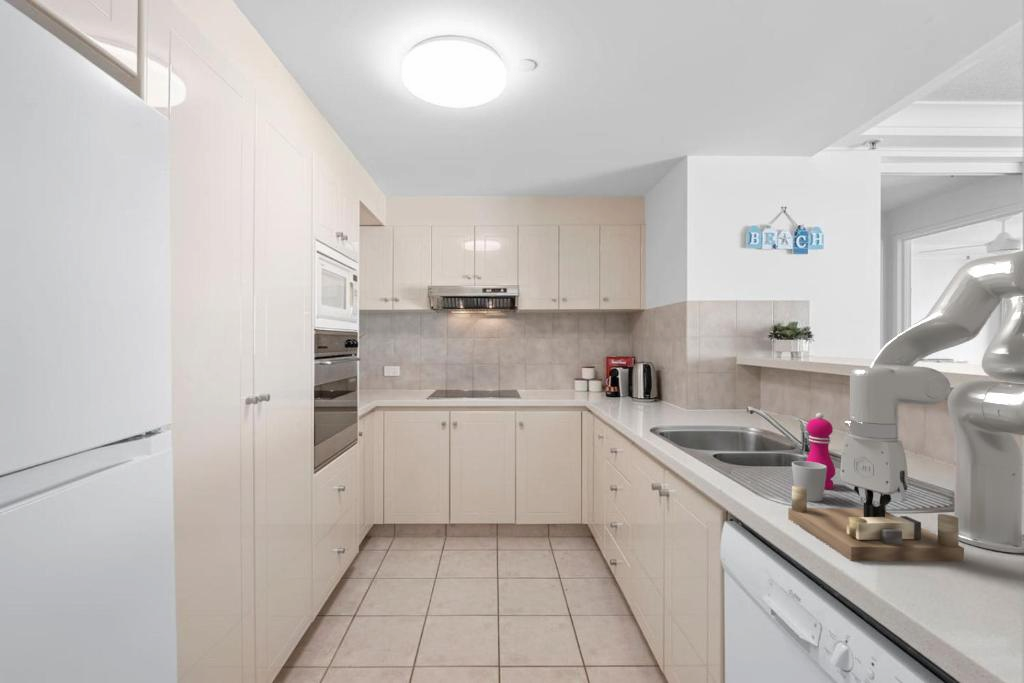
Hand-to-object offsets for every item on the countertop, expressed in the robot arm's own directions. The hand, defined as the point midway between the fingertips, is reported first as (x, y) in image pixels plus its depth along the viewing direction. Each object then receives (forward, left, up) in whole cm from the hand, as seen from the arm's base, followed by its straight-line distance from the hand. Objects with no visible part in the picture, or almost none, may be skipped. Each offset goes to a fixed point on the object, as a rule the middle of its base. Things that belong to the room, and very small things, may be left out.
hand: (874, 523), depth 93 cm
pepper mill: (-29, -26, -4) cm, 39 cm away
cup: (-17, -22, -4) cm, 28 cm away
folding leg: (+3, +2, -1) cm, 4 cm away
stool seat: (-1, -2, -4) cm, 4 cm away
